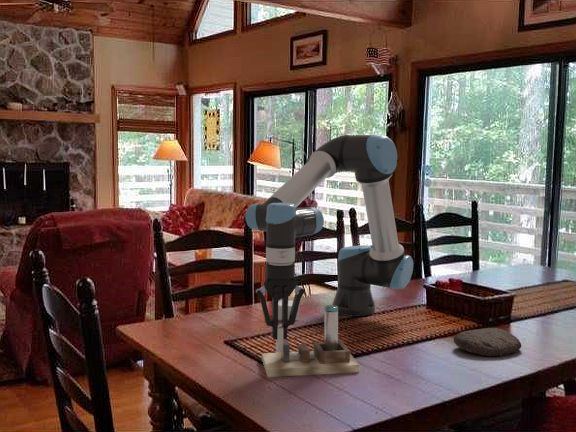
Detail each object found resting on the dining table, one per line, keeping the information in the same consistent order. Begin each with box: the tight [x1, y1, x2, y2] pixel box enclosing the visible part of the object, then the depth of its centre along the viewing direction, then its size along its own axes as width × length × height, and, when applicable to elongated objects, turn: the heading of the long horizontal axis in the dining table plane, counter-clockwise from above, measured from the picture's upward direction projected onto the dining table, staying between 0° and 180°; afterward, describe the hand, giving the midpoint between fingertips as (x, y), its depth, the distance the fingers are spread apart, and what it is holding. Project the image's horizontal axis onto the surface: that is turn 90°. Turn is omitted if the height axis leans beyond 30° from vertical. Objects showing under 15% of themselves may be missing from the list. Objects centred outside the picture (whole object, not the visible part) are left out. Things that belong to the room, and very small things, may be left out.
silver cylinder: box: [323, 304, 339, 351], centre depth 162 cm, size 4×4×14 cm
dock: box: [261, 341, 360, 378], centre depth 161 cm, size 24×12×5 cm, turn 100°
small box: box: [278, 299, 300, 321], centre depth 207 cm, size 8×8×5 cm
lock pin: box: [281, 339, 315, 362], centre depth 161 cm, size 9×4×5 cm, turn 100°
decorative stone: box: [453, 327, 522, 357], centre depth 176 cm, size 20×14×5 cm
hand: (279, 350), depth 160 cm, fingers closed
